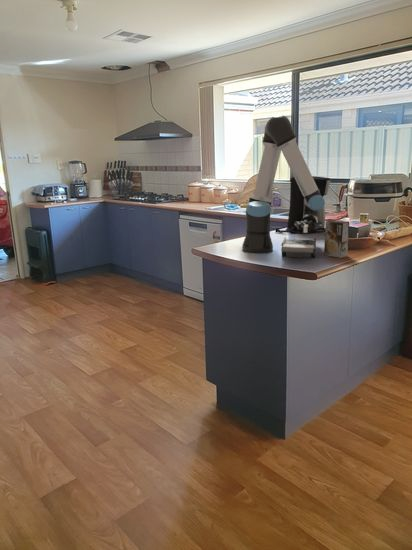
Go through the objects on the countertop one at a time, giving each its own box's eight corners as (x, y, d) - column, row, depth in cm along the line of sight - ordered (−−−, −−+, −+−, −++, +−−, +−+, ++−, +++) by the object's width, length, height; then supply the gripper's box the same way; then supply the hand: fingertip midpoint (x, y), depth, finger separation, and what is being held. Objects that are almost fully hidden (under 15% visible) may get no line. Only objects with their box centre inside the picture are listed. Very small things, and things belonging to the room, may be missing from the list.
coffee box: (347, 256, 200) (350, 221, 196) (341, 258, 196) (343, 223, 192) (330, 253, 206) (332, 219, 202) (323, 255, 202) (325, 221, 198)
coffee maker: (333, 230, 270) (337, 175, 262) (304, 237, 249) (307, 177, 240) (302, 226, 286) (305, 174, 277) (272, 232, 265) (274, 176, 256)
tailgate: (283, 246, 197) (281, 251, 185) (283, 242, 196) (281, 247, 184) (313, 248, 194) (313, 253, 181) (313, 243, 193) (313, 248, 181)
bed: (280, 257, 197) (281, 243, 196) (283, 251, 212) (284, 237, 210) (315, 259, 194) (316, 244, 192) (315, 252, 208) (316, 238, 206)
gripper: (322, 230, 212) (319, 238, 190) (295, 229, 216) (290, 237, 194) (323, 215, 210) (320, 221, 188) (296, 214, 214) (290, 220, 192)
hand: (305, 229), depth 191 cm, fingers closed
